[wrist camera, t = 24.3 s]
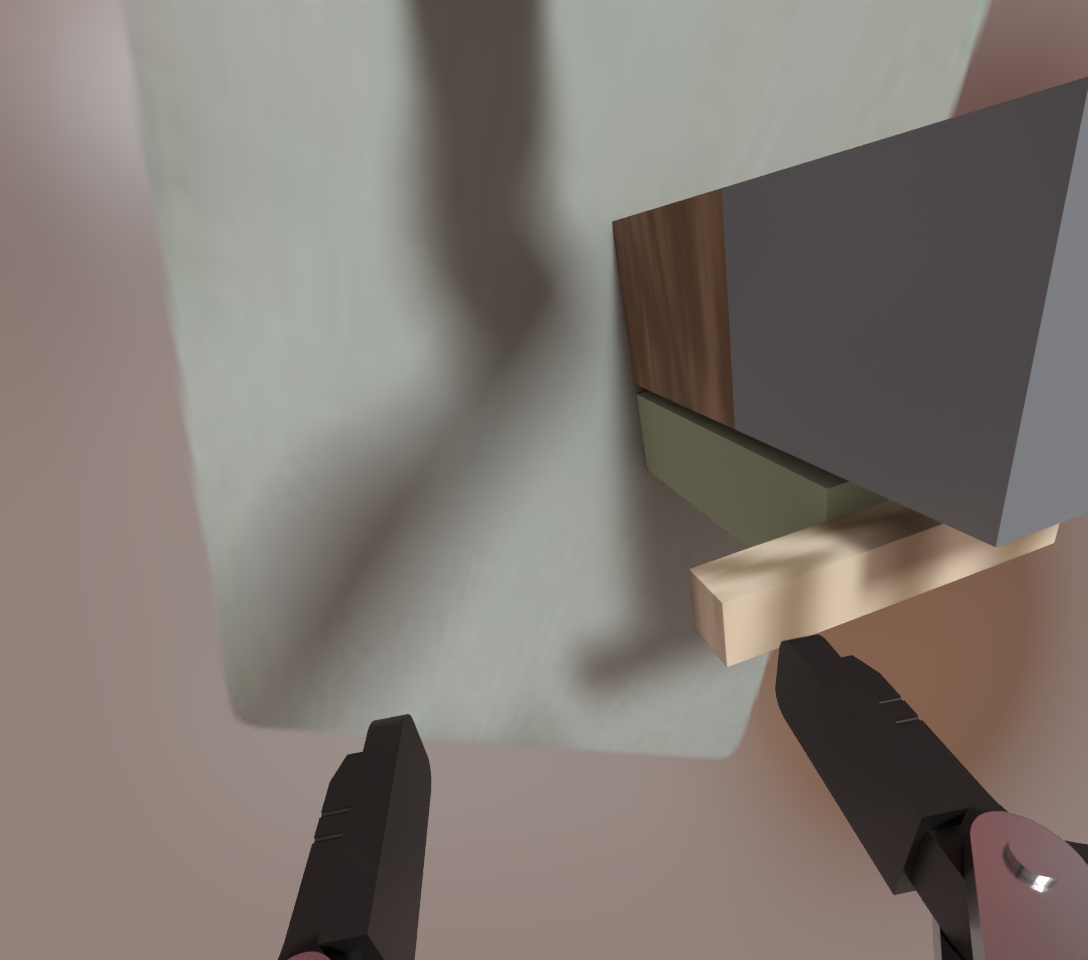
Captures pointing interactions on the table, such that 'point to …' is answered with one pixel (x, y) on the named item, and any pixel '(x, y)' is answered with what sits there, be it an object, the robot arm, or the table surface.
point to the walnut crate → (679, 303)
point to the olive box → (741, 475)
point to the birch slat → (834, 576)
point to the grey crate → (926, 314)
